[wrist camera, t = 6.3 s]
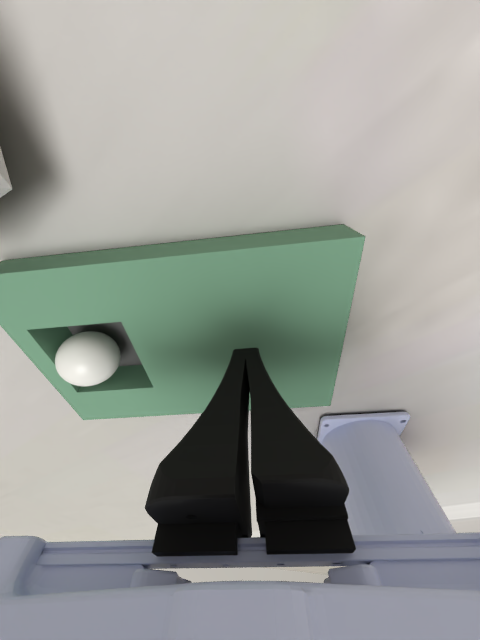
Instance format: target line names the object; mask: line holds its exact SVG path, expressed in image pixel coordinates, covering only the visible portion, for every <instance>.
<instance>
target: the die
mask: <svg viewBox="0 0 480 640" xmlns="http://www.w3.org/2000/svg"><path fill="white" fill-rule="evenodd" d="M10 190H12V185H11V182H10V179H9V175H8V172H7V168H6V165H5V161H4V158H3V154H2V151H1V148H0V198H1V197H2V196H3V195H5V194H6V193H8V192H9V191H10Z"/></svg>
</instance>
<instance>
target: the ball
mask: <svg viewBox="0 0 480 640" xmlns="http://www.w3.org/2000/svg"><path fill="white" fill-rule="evenodd" d="M120 358H121V355H120V349H119V347H118V345H117V343H116V342H115V341H114V340H113V339H112V338H111V337H109V336H108V335H106V334H104V333H100V332H95V331H87V332H81V333H78V334H75V335H73V336H71V337H70V338H68V339H67V340H65V341H64V342H63V343H62V344H61V346H60V347H59V349H58V351H57V353H56V357H55V366H56V370H57V372H58V374H59V375H60V376H61V377H62V378H63V379H64V380H65V381H67V382H68V383H70V384H73V385H77V386H93V385H97V384H99V383H102V382H104V381H105V380H107V379H108V378H110V377H111V376H112V375H113V374H114V373H115V371H116V370H117V368H118V366H119V363H120Z"/></svg>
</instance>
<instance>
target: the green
mask: <svg viewBox="0 0 480 640" xmlns="http://www.w3.org/2000/svg"><path fill="white" fill-rule="evenodd" d="M364 241H365V236H364V235H362V234H360V233H358V232H356V231H355V230H353V229H351V228H349V227H347V226H345V225H344V224H341V225H332V226H323V227H313V228H304V229H294V230H285V231H276V232H266V233H257V234H247V235H238V236H229V237H219V238H210V239H200V240H191V241H182V242H172V243H163V244H153V245H144V246H134V247H125V248H116V249H106V250H97V251H87V252H78V253H69V254H59V255H50V256H40V257H31V258H22V259H12V260H4V261H2V262H0V325H1V327H2V328H3V329H4V330H5V331H6V332H7V333H8V335H9V336H10V337H11V338H12V339H13V340H14V341H15V343H16V344H17V345H18V346H19V347H20V348H21V349H22V351H23V352H24V353H25V354H26V355H27V356H28V357H29V359H30V360H31V361H32V362H33V363H34V364H35V365H36V367H37V368H38V369H39V370H40V371H41V372H42V373H43V375H44V376H45V377H46V378H47V379H48V380H49V381H50V383H51V384H52V385H53V386H54V387H55V388H56V389H57V391H58V392H59V393H60V394H61V395H62V396H63V397H64V399H65V400H66V401H67V402H68V403H69V404H70V405H71V407H72V408H73V409H74V410H75V411H76V412H77V413H78V415H79V416H80V417H81V418H82V419H83V420H92V419H109V418H126V417H144V416H161V415H178V414H196V413H203V412H204V410H205V409H206V407H207V406H208V404H209V402H210V401H211V399H212V397H213V396H214V394H215V392H216V390H217V388H218V387H219V385H220V383H221V381H222V379H223V376H224V374H225V372H226V370H227V367H228V365H229V362H230V359H231V356H232V353H233V350H234V349H244V348H256V347H257V348H258V349H259V353H260V356H261V359H262V362H263V364H264V366H265V369H266V371H267V373H268V374H269V376H270V378H271V380H272V382H273V384H274V385H275V387H276V389H277V390H278V392H279V393H280V395H281V396H282V398H283V399H284V401H285V402H286V404H287V405H288V406H289V408H299V407H317V406H330V405H331V400H332V395H333V391H334V386H335V381H336V376H337V371H338V366H339V362H340V357H341V352H342V347H343V342H344V337H345V333H346V328H347V323H348V318H349V313H350V308H351V304H352V299H353V294H354V289H355V284H356V280H357V275H358V270H359V265H360V260H361V255H362V251H363V246H364ZM87 331H95V332H100V333H104V334H106V335H108V336H109V337H111V338H112V339H113V340H114V341H115V342H116V343H117V345H118V347H119V349H120V355H121V358H120V363H119V366H118V368H117V370H116V371H115V373H114V374H113V375H112V376H111V377H110V378H108V379H107V380H105V381H104V382H102V383H99V384H97V385H93V386H77V385H73V384H70V383H68V382H67V381H65V380H64V379H63V378H62V377H61V376H60V375H59V374H58V372H57V370H56V366H55V357H56V353H57V351H58V349H59V347H60V346H61V344H62V343H63V342H64V341H65V340H67V339H68V338H70V337H71V336H73V335H75V334H78V333H81V332H87ZM249 410H251V397H250V393H249Z"/></svg>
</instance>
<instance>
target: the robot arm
mask: <svg viewBox="0 0 480 640" xmlns="http://www.w3.org/2000/svg"><path fill="white" fill-rule="evenodd" d="M249 393H250V397H251V474H252V479H253V485H254V491H255V496H256V515H257V522H258V525H259V530H260V537H257V538H250V537H251V536H252V525H251V505H250V484H249V460H248V414H249ZM409 419H410V415H409V414H408V413H407V412H389V413H371V414H353V415H335V416H324V417H322V418H321V420H320V426H319V432H318V437H317V439H316V438H315V437H314V436H313V435H312V434H311V433H310V432H309V431H308V429H307V428H306V427H305V426H304V425H303V424H302V422H301V421H300V420H299V419H298V418H297V416H296V415H295V414H294V413H293V412H292V410H291V409H290V408H289V406H288V405H287V404H286V402H285V401H284V399H283V398H282V396H281V395H280V393H279V392H278V390H277V389H276V387H275V385H274V384H273V382H272V380H271V378H270V376H269V374H268V373H267V371H266V369H265V366H264V364H263V362H262V359H261V356H260V353H259V349H258V348H257V347H256V348H244V349H234V350H233V353H232V356H231V359H230V362H229V365H228V367H227V370H226V372H225V374H224V376H223V379H222V381H221V383H220V385H219V387H218V388H217V390H216V392H215V394H214V396H213V397H212V399H211V401H210V402H209V404H208V406H207V407H206V409H205V410H204V412H203V413H202V414H201V416H200V417H199V419H198V420H197V421H196V423H195V424H194V425H193V427H192V428H191V429H190V430H189V431H188V433H187V434H186V435H185V436H184V438H183V439H182V440H181V441H180V442H179V443H178V445H177V446H176V447H175V448H174V449H173V450H172V451H171V452H170V453H169V454H168V455H167V456H166V457H165V458H164V460H163V461H162V462H161V463H160V464H159V466H158V469H157V471H156V473H155V476H154V479H153V481H152V484H151V487H150V491H149V494H148V498H147V501H146V505H145V509H146V511H147V513H148V514H149V515H150V516H151V517H152V518H153V519H154V520H155V521H156V522H157V523H158V527H157V531H156V535H155V539H154V540H123V541H79V542H46V541H45V540H43V539H41V538H39V537H35V536H4V537H2V538H0V640H480V533H456V532H455V530H454V528H453V527H452V525H451V523H450V521H449V520H448V518H447V516H446V515H445V513H444V511H443V510H442V508H441V506H440V504H439V503H438V501H437V499H436V498H435V496H434V494H433V493H432V491H431V489H430V488H429V486H428V484H427V482H426V481H425V479H424V477H423V476H422V474H421V472H420V471H419V469H418V467H417V465H416V464H415V462H414V460H413V459H412V457H411V455H410V454H409V452H408V450H407V448H406V447H405V445H404V443H403V442H402V440H401V438H400V437H399V436H400V435H401V433H402V431H403V429H404V428H405V426H406V424H407V422H408V421H409ZM307 566H346V567H340V568H333V569H329V571H328V574H329V577H328V578H326V579H325V580H324V583H309V582H287V581H220V582H199V583H192V582H191V581H188V580H185V579H182V578H181V577H179V576H178V575H177V573H176V572H173V571H162V570H153V569H159V568H227V567H228V568H229V567H230V568H233V567H234V568H235V567H307Z"/></svg>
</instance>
